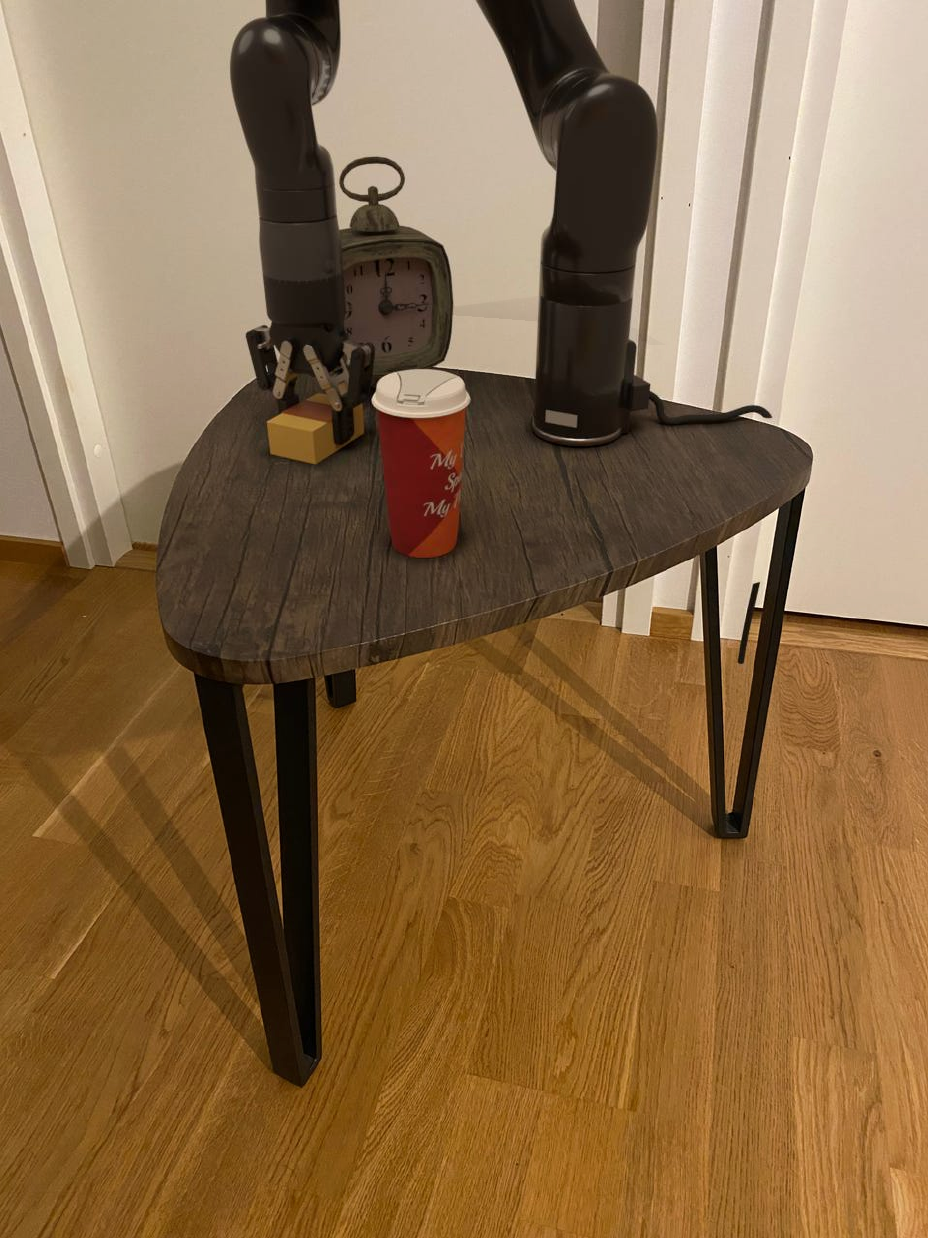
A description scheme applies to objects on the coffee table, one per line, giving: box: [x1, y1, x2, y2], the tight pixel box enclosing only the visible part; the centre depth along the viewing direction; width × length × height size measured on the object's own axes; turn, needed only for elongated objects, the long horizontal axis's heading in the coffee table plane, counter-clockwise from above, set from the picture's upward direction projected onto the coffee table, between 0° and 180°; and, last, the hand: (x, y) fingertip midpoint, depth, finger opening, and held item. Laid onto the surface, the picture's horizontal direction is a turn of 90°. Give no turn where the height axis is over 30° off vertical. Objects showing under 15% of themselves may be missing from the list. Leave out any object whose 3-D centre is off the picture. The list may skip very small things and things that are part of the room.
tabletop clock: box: [338, 156, 454, 389], centre depth 106 cm, size 14×9×25 cm, turn 111°
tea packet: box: [266, 392, 365, 465], centre depth 100 cm, size 9×6×4 cm, turn 153°
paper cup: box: [371, 368, 471, 559], centre depth 80 cm, size 8×8×14 cm
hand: (317, 435), depth 101 cm, fingers closed on tea packet, 5 cm apart
